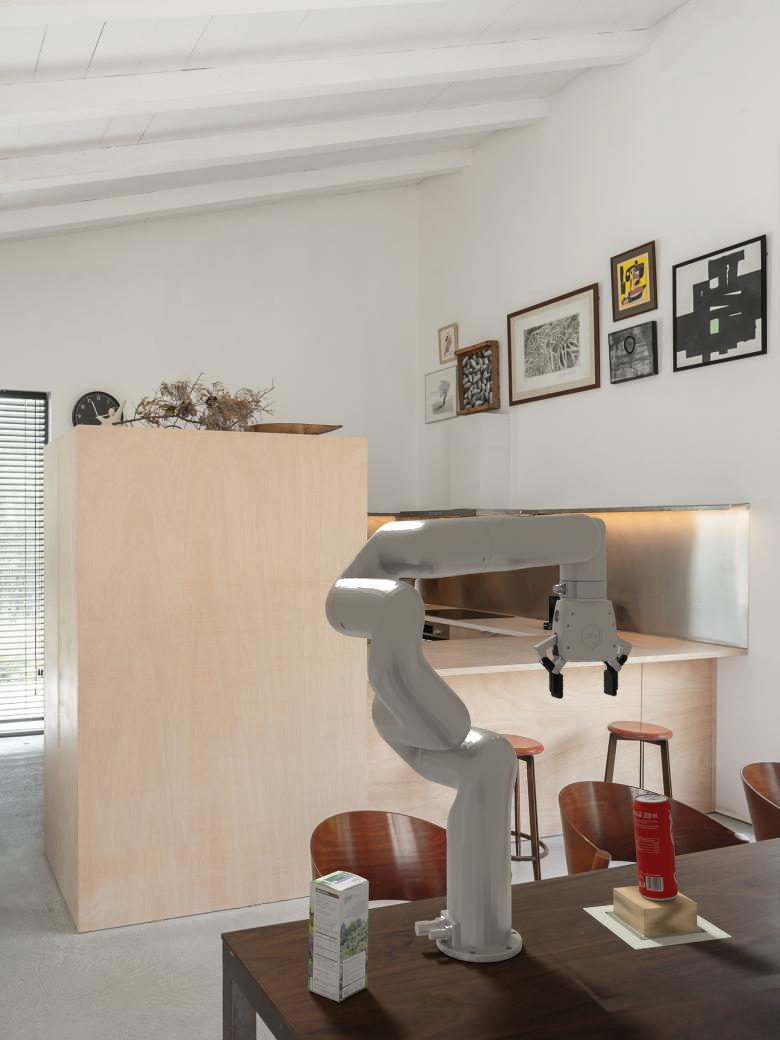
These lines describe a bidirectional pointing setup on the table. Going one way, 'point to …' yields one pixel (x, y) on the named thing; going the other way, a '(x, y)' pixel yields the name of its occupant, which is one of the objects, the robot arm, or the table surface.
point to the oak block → (654, 912)
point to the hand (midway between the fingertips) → (583, 696)
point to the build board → (640, 942)
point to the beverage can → (655, 847)
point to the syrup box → (338, 935)
